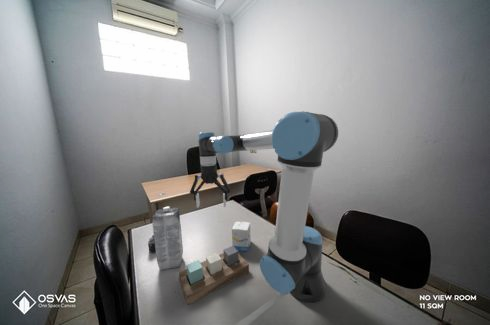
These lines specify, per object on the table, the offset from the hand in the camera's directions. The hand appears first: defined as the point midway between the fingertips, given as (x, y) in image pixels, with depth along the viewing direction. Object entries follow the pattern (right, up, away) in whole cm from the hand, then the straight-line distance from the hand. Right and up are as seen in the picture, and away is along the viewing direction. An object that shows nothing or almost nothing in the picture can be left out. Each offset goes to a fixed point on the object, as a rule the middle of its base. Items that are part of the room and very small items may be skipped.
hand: (211, 206), depth 87 cm
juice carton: (-18, -26, -6) cm, 32 cm away
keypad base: (+4, -26, -14) cm, 30 cm away
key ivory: (+4, -22, -14) cm, 27 cm away
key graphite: (+11, -22, -10) cm, 26 cm away
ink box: (+15, -23, +6) cm, 28 cm away
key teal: (-3, -23, -19) cm, 30 cm away
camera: (-27, -24, +8) cm, 37 cm away
